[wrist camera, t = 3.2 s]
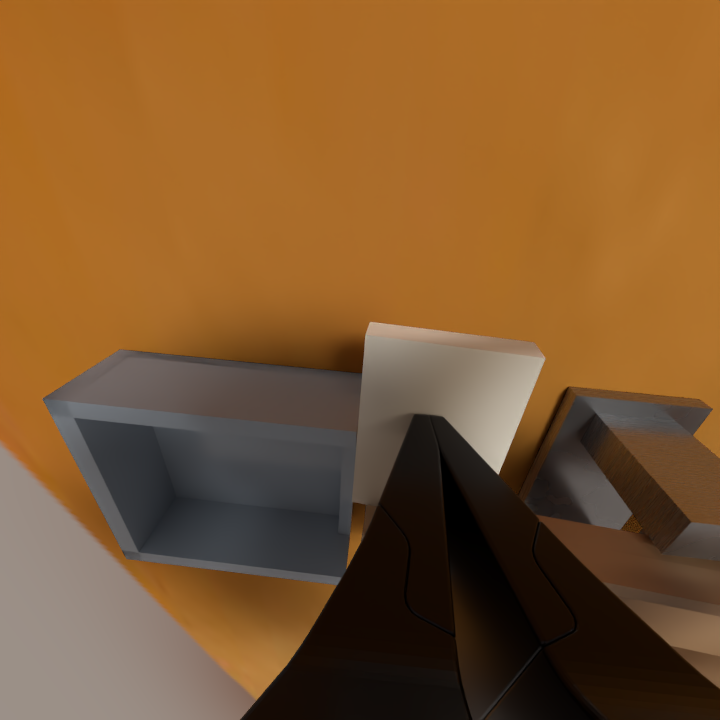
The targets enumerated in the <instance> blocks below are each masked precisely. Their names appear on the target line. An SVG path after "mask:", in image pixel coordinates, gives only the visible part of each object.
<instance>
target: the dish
mask: <svg viewBox="0 0 720 720" xmlns="http://www.w3.org/2000/svg"><path fill="white" fill-rule="evenodd" d="M361 383H362V373H352V372H342V371H332V370H322V369H311V368H301V367H291V366H281V365H271V364H261V363H251V362H241V361H230V360H220V359H210V358H200V357H190V356H180V355H170V354H160V353H149V352H139V351H129V350H118V351H117V352H115V353H114V354H112V355H111V356H109V357H107V358H106V359H104V360H103V361H101V362H100V363H98V364H96V365H95V366H93V367H92V368H90V369H89V370H87V371H85V372H84V373H82V374H81V375H79V376H77V377H76V378H74V379H73V380H71V381H70V382H68V383H66V384H65V385H63V386H62V387H60V388H59V389H57V390H55V391H54V392H52V393H51V394H49V395H48V396H46V397H44V398H43V401H44V403H45V405H46V406H47V408H48V410H49V412H50V414H51V416H52V418H53V420H54V422H55V424H56V426H57V427H58V429H59V431H60V433H61V435H62V437H63V439H64V441H65V443H66V445H67V447H68V448H69V450H70V452H71V454H72V456H73V458H74V460H75V462H76V464H77V466H78V467H79V469H80V471H81V473H82V475H83V477H84V479H85V481H86V483H87V485H88V487H89V488H90V490H91V492H92V494H93V496H94V498H95V500H96V502H97V504H98V506H99V508H100V509H101V511H102V513H103V515H104V517H105V519H106V521H107V523H108V525H109V527H110V529H111V530H112V532H113V534H114V536H115V538H116V540H117V542H118V544H119V546H120V548H121V549H122V551H123V553H124V555H125V557H126V559H131V560H139V561H147V562H156V563H164V564H172V565H180V566H188V567H196V568H204V569H212V570H220V571H228V572H236V573H244V574H252V575H260V576H268V577H276V578H284V579H292V580H300V581H309V582H317V583H325V584H333V585H338V583H339V581H340V579H341V578H342V576H343V574H344V573H345V571H346V568H347V559H348V550H349V541H350V532H351V523H352V513H353V502H352V494H353V482H354V469H355V457H356V445H357V432H358V420H359V408H360V396H361Z"/></svg>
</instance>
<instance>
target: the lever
mask: <svg viewBox="0 0 720 720" xmlns="http://www.w3.org/2000/svg"><path fill="white" fill-rule="evenodd" d="M544 361H545V357H544V355H543V354H542V353H541V351H540V350H539V348H538V347H537V345H536V344H535V343H534V342H527V341H519V340H511V339H503V338H495V337H487V336H479V335H471V334H463V333H455V332H447V331H439V330H432V329H424V328H416V327H408V326H400V325H392V324H384V323H376V322H370V324H369V326H368V329H367V332H366V335H365V346H364V359H363V371H362V383H361V396H360V408H359V420H358V432H357V445H356V457H355V469H354V482H353V494H352V502H355V503H361V504H366V505H367V508H366V514H365V520H364V526H363V532H362V540H363V538H364V535H365V533H366V531H367V529H368V526H369V524H370V522H371V520H372V517H373V515H374V512H375V510H376V507H377V506H378V503H379V500H380V498H381V495H382V493H383V490H384V487H385V485H386V482H387V480H388V477H389V475H390V472H391V470H392V467H393V465H394V462H395V460H396V457H397V455H398V452H399V450H400V447H401V445H402V442H403V440H404V437H405V435H406V432H407V430H408V427H409V425H410V422H411V420H412V417H413V415H414V414H424V415H428V416H429V415H435V416H443V417H444V418H445V419H446V420H447V421H448V422H449V423H450V424H451V425H452V426H453V427H454V428H455V429H456V430H457V431H458V432H459V433H460V435H461V436H462V437H463V438H464V439H465V440H466V441H467V442H468V443H469V444H470V445H471V446H472V447H473V448H474V449H475V451H476V452H477V453H478V454H479V455H480V456H481V457H482V458H483V459H484V460H485V461H486V462H487V463H488V464H489V465H490V467H491V468H492V469H493V470H494V471H495V472H496V473H497V474H498V475H499V472H500V470H501V467H502V465H503V462H504V460H505V457H506V455H507V452H508V450H509V447H510V445H511V442H512V440H513V438H514V435H515V433H516V430H517V428H518V425H519V423H520V420H521V418H522V415H523V413H524V410H525V408H526V405H527V403H528V400H529V398H530V395H531V393H532V390H533V388H534V385H535V383H536V380H537V378H538V376H539V373H540V371H541V368H542V366H543V363H544ZM536 516H537V517H538V518H539V522H540V521H542V522H543V523H544V524H545V525H546V526H547V527H548V528H549V529H550V530H551V531H552V533H553V534H554V535H555V536H556V537H557V538H558V539H559V540H560V541H561V542H562V543H563V544H564V545H565V546H566V547H567V548H568V549H569V550H570V551H571V552H572V553H573V554H574V555H575V556H576V557H577V558H578V559H579V560H580V561H581V562H582V563H583V564H584V565H585V566H586V567H587V568H588V569H589V570H590V571H591V572H592V573H593V574H594V575H595V576H596V577H597V578H598V579H599V580H601V581H602V582H603V583H604V584H605V585H606V586H607V587H608V588H609V589H610V590H611V591H612V592H613V593H614V594H615V595H616V596H618V597H619V598H620V599H621V600H622V601H623V602H624V603H625V604H626V605H627V606H628V607H629V608H630V609H632V610H633V611H634V612H635V613H636V614H637V615H638V616H639V617H640V618H641V619H642V620H643V621H644V622H646V623H647V624H648V625H649V626H650V627H651V628H652V629H653V630H654V631H655V632H656V633H657V634H658V635H660V636H661V637H662V638H663V639H664V640H665V641H666V642H667V643H668V644H669V645H670V646H671V647H672V648H674V649H675V650H676V651H677V652H678V653H679V654H680V655H681V656H682V657H683V658H684V659H685V660H686V661H688V662H689V663H690V664H691V665H692V666H693V667H694V668H696V669H697V670H698V671H699V672H700V673H701V674H702V675H704V676H705V677H706V678H707V679H709V680H710V681H711V682H712V683H714V684H715V685H716V686H717V687H719V688H720V561H716V560H707V559H699V558H690V557H681V556H673V555H664V554H661V552H660V551H659V550H658V548H657V547H656V546H655V544H654V543H653V541H652V540H651V539H650V537H649V536H648V534H647V533H646V532H645V530H644V529H642V530H641V531H640V532H639V533H634V532H628V531H623V530H617V529H612V528H606V527H601V526H595V525H590V524H584V523H579V522H573V521H568V520H562V519H557V518H551V517H546V516H540V515H536ZM362 540H361V542H362Z"/></svg>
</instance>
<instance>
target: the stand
mask: <svg viewBox="0 0 720 720" xmlns="http://www.w3.org/2000/svg"><path fill="white" fill-rule="evenodd" d="M712 410H713V409H712V408H711V407H709V406H708V405H707V404H705V403H704V402H702V401H701V400H700V399H690V398H679V397H669V396H659V395H649V394H638V393H628V392H618V391H608V390H598V389H587V388H577V387H569V388H568V390H567V392H566V394H565V396H564V398H563V401H562V403H561V405H560V407H559V409H558V411H557V413H556V416H555V418H554V420H553V422H552V424H551V426H550V428H549V430H548V433H547V435H546V437H545V439H544V441H543V443H542V445H541V448H540V450H539V452H538V454H537V456H536V458H535V460H534V462H533V465H532V467H531V469H530V471H529V473H528V475H527V477H526V480H525V482H524V484H523V486H522V488H521V490H520V492H519V495H518V496H519V498H520V499H521V500H522V501H523V502H524V503H525V504H526V505H527V506H528V507H529V508H530V509H531V510H532V511H533V512H534V514H535V515H540V516H546V517H551V518H557V519H562V520H568V521H573V522H579V523H584V524H590V525H595V526H601V527H606V528H612V529H617V530H620V529H621V528H622V527H623V525H624V524H625V523H626V521H627V520H628V519H629V518H630V516H631V515H632V514H633V515H634V517H635V518H636V519H637V521H638V522H639V523H640V525H641V526H642V528H643V529H644V530H645V532H646V533H647V534H648V536H649V537H650V539H651V540H652V541H653V543H654V544H655V546H656V547H657V548H658V550H659V551H660V552H661V554H664V555H673V556H681V557H690V558H699V559H707V560H716V561H720V459H719V458H718V457H717V456H716V455H715V454H714V453H712V452H711V451H710V450H709V449H708V448H707V447H705V446H704V445H703V444H702V443H701V442H699V441H698V440H697V439H696V438H695V437H694V436H693V434H694V433H695V432H696V430H697V429H698V428H699V427H700V425H701V424H702V423H703V421H704V420H705V419H706V417H707V416H708V415H709V413H710V412H711V411H712ZM366 508H367V505H366V507H365V514H366Z"/></svg>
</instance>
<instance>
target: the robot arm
mask: <svg viewBox="0 0 720 720" xmlns="http://www.w3.org/2000/svg"><path fill="white" fill-rule="evenodd" d="M240 720H720V688H719V687H717V686H716V685H715V684H714V683H712V682H711V681H710V680H709V679H707V678H706V677H705V676H704V675H702V674H701V673H700V672H699V671H698V670H697V669H696V668H694V667H693V666H692V665H691V664H690V663H689V662H688V661H686V660H685V659H684V658H683V657H682V656H681V655H680V654H679V653H678V652H677V651H676V650H675V649H674V648H672V647H671V646H670V645H669V644H668V643H667V642H666V641H665V640H664V639H663V638H662V637H661V636H660V635H658V634H657V633H656V632H655V631H654V630H653V629H652V628H651V627H650V626H649V625H648V624H647V623H646V622H644V621H643V620H642V619H641V618H640V617H639V616H638V615H637V614H636V613H635V612H634V611H633V610H632V609H630V608H629V607H628V606H627V605H626V604H625V603H624V602H623V601H622V600H621V599H620V598H619V597H618V596H616V595H615V594H614V593H613V592H612V591H611V590H610V589H609V588H608V587H607V586H606V585H605V584H604V583H603V582H602V581H601V580H599V579H598V578H597V577H596V576H595V575H594V574H593V573H592V572H591V571H590V570H589V569H588V568H587V567H586V566H585V565H584V564H583V563H582V562H581V561H580V560H579V559H578V558H577V557H576V556H575V555H574V554H573V553H572V552H571V551H570V550H569V549H568V548H567V547H566V546H565V545H564V544H563V543H562V542H561V541H560V540H559V539H558V538H557V537H556V536H555V535H554V534H553V533H552V531H551V530H550V529H549V528H548V527H547V526H546V525H545V524H544V523H543V522H542V521H540V522H539V518H538V517H537V516H536V515H535V514H534V512H533V511H532V510H531V509H530V508H529V507H528V506H527V505H526V504H525V503H524V502H523V501H522V500H521V499H520V498H519V496H518V495H517V494H516V493H515V492H514V491H513V490H512V489H511V488H510V487H509V486H508V485H507V484H506V483H505V482H504V480H503V479H502V478H501V477H500V476H499V475H498V474H497V473H496V472H495V471H494V470H493V469H492V468H491V467H490V465H489V464H488V463H487V462H486V461H485V460H484V459H483V458H482V457H481V456H480V455H479V454H478V453H477V452H476V451H475V449H474V448H473V447H472V446H471V445H470V444H469V443H468V442H467V441H466V440H465V439H464V438H463V437H462V436H461V435H460V433H459V432H458V431H457V430H456V429H455V428H454V427H453V426H452V425H451V424H450V423H449V422H448V421H447V420H446V419H445V418H444V417H443V416H435V415H429V416H428V415H424V414H414V415H413V417H412V420H411V422H410V425H409V427H408V430H407V432H406V435H405V437H404V440H403V442H402V445H401V447H400V450H399V452H398V455H397V457H396V460H395V462H394V465H393V467H392V470H391V472H390V475H389V477H388V480H387V482H386V485H385V487H384V490H383V493H382V495H381V498H380V500H379V503H378V506H377V507H376V510H375V512H374V515H373V517H372V520H371V522H370V524H369V526H368V529H367V531H366V533H365V535H364V538H363V540H362V542H361V544H360V545H359V547H358V549H357V551H356V553H355V555H354V557H353V559H352V560H351V562H350V564H349V566H348V568H347V569H346V571H345V573H344V574H343V576H342V578H341V579H340V581H339V583H338V585H337V586H336V588H335V590H334V591H333V593H332V595H331V597H330V598H329V600H328V602H327V603H326V605H325V607H324V609H323V610H322V612H321V614H320V615H319V617H318V619H317V621H316V622H315V624H314V626H313V627H312V629H311V630H310V632H309V634H308V635H307V637H306V638H305V640H304V641H303V643H302V644H301V646H300V647H299V649H298V650H297V652H296V653H295V655H294V656H293V657H292V659H291V660H290V662H289V663H288V664H287V666H286V667H285V668H284V669H283V670H282V671H281V673H280V674H279V675H278V676H277V677H276V678H275V680H274V681H273V682H272V683H271V684H270V685H269V687H268V688H267V689H266V690H265V691H264V692H263V694H262V695H261V696H260V697H259V698H258V699H257V701H256V702H255V703H254V704H253V705H252V707H251V708H250V709H249V710H248V711H247V713H246V714H245V715H244V716H243V717H242V718H241V719H240Z"/></svg>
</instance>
